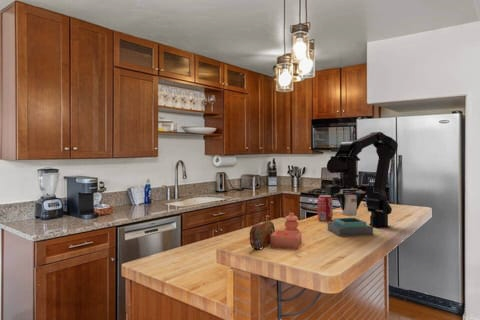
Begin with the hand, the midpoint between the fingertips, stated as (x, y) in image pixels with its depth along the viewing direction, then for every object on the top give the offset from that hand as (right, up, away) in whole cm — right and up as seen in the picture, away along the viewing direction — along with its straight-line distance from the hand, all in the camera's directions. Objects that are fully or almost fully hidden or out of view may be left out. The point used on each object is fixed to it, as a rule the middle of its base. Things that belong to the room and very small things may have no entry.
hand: (349, 209), depth 138 cm
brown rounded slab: (-37, -10, -19) cm, 43 cm away
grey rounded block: (0, -2, 0) cm, 2 cm away
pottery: (-27, -10, -13) cm, 32 cm away
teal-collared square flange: (0, -9, 0) cm, 9 cm away
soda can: (-4, -9, +26) cm, 28 cm away
